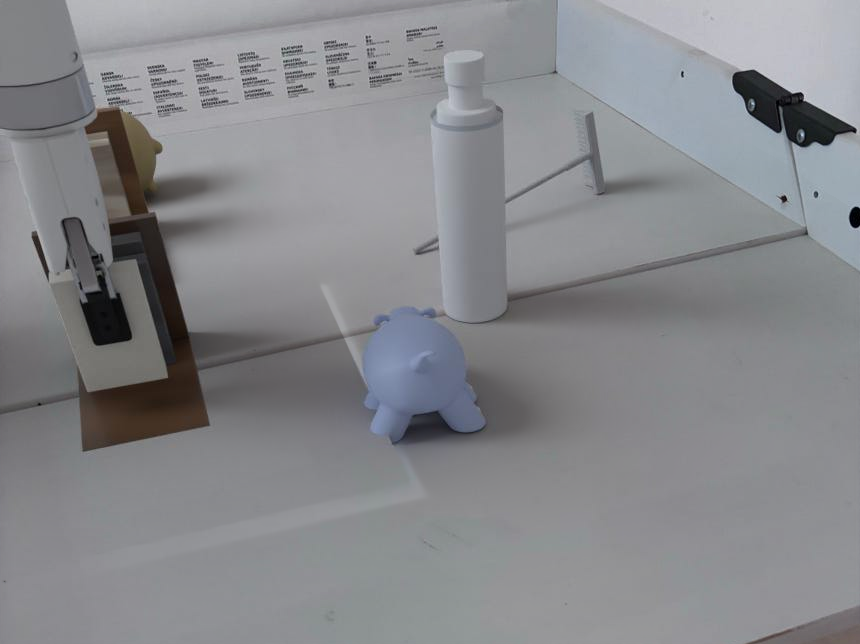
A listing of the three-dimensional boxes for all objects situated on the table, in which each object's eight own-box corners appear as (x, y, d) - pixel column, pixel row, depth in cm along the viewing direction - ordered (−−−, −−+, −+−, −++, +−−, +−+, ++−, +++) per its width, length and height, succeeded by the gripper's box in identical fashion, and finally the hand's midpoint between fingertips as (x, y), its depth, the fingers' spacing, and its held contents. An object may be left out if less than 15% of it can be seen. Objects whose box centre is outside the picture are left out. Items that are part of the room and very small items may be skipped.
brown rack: (80, 363, 97) (31, 231, 87) (191, 342, 99) (155, 211, 89) (86, 462, 85) (30, 322, 75) (212, 436, 87) (173, 296, 77)
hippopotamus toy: (461, 358, 94) (455, 263, 88) (494, 444, 84) (491, 344, 77) (351, 374, 93) (336, 279, 86) (371, 463, 83) (357, 363, 76)
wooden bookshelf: (60, 237, 118) (19, 120, 109) (151, 222, 120) (119, 106, 111) (63, 301, 106) (16, 176, 97) (164, 284, 108) (129, 159, 99)
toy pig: (115, 215, 131) (39, 177, 123) (149, 129, 128) (74, 83, 120) (148, 235, 126) (70, 195, 117) (184, 144, 123) (107, 98, 114)
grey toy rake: (411, 283, 116) (387, 206, 110) (587, 184, 123) (574, 106, 117) (427, 291, 114) (404, 213, 107) (606, 190, 121) (593, 110, 114)
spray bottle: (464, 329, 98) (449, 51, 80) (432, 304, 102) (410, 33, 84) (519, 310, 101) (516, 35, 83) (485, 286, 105) (475, 19, 87)
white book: (86, 380, 87) (48, 271, 79) (166, 366, 88) (135, 258, 81) (87, 392, 85) (48, 283, 78) (168, 378, 87) (137, 269, 79)
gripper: (-13, 73, 75) (65, 299, 88) (-21, 143, 64) (70, 388, 77) (87, 61, 76) (149, 286, 89) (96, 128, 66) (165, 371, 79)
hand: (112, 331), depth 83 cm, fingers closed on white book, 2 cm apart
